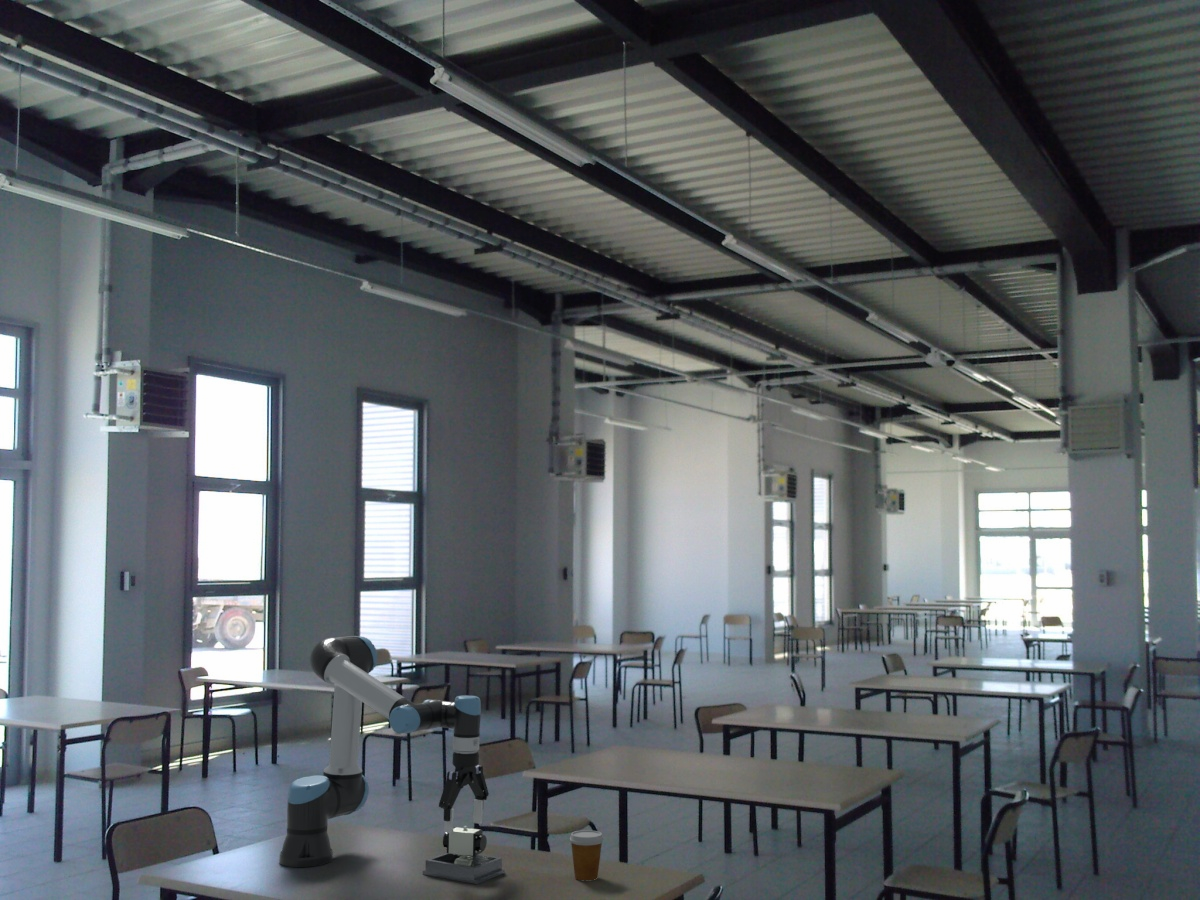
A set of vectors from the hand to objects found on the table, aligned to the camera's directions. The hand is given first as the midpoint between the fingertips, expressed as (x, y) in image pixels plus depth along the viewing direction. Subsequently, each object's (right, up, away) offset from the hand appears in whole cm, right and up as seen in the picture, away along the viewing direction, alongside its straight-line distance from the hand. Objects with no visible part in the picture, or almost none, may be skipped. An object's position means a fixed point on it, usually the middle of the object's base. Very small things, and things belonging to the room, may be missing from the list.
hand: (463, 827), depth 304 cm
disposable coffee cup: (+35, -12, -6) cm, 38 cm away
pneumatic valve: (+1, -11, -2) cm, 12 cm away
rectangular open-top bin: (0, -12, -2) cm, 12 cm away
